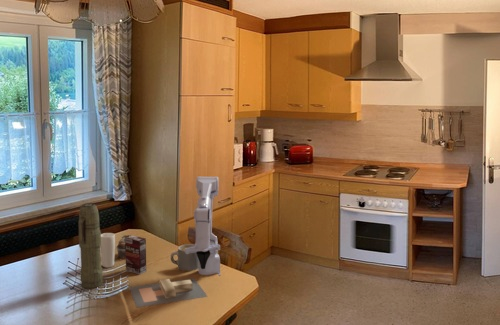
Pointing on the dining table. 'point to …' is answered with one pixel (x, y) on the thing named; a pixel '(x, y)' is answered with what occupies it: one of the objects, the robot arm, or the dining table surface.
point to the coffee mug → (185, 258)
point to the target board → (154, 294)
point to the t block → (174, 287)
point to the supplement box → (135, 254)
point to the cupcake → (122, 247)
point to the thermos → (90, 246)
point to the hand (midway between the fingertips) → (202, 268)
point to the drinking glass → (108, 249)
